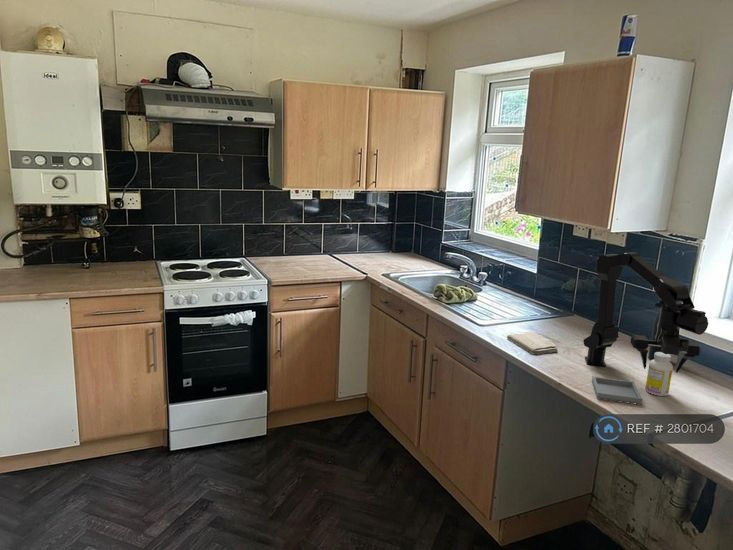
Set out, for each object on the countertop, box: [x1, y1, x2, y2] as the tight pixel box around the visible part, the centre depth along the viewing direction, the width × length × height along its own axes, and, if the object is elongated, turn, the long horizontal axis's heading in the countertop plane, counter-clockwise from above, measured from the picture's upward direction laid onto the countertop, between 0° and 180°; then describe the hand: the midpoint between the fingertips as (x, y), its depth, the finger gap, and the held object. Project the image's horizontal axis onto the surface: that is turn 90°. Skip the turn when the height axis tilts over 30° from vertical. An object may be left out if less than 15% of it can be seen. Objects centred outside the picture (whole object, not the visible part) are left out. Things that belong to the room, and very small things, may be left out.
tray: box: [591, 375, 643, 405], centre depth 173 cm, size 13×13×2 cm
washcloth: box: [506, 331, 558, 355], centre depth 211 cm, size 12×18×3 cm, turn 21°
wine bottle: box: [647, 308, 662, 361], centre depth 197 cm, size 6×6×30 cm
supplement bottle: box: [645, 352, 674, 397], centre depth 173 cm, size 7×7×13 cm
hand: (660, 370), depth 173 cm, fingers open, 9 cm apart
